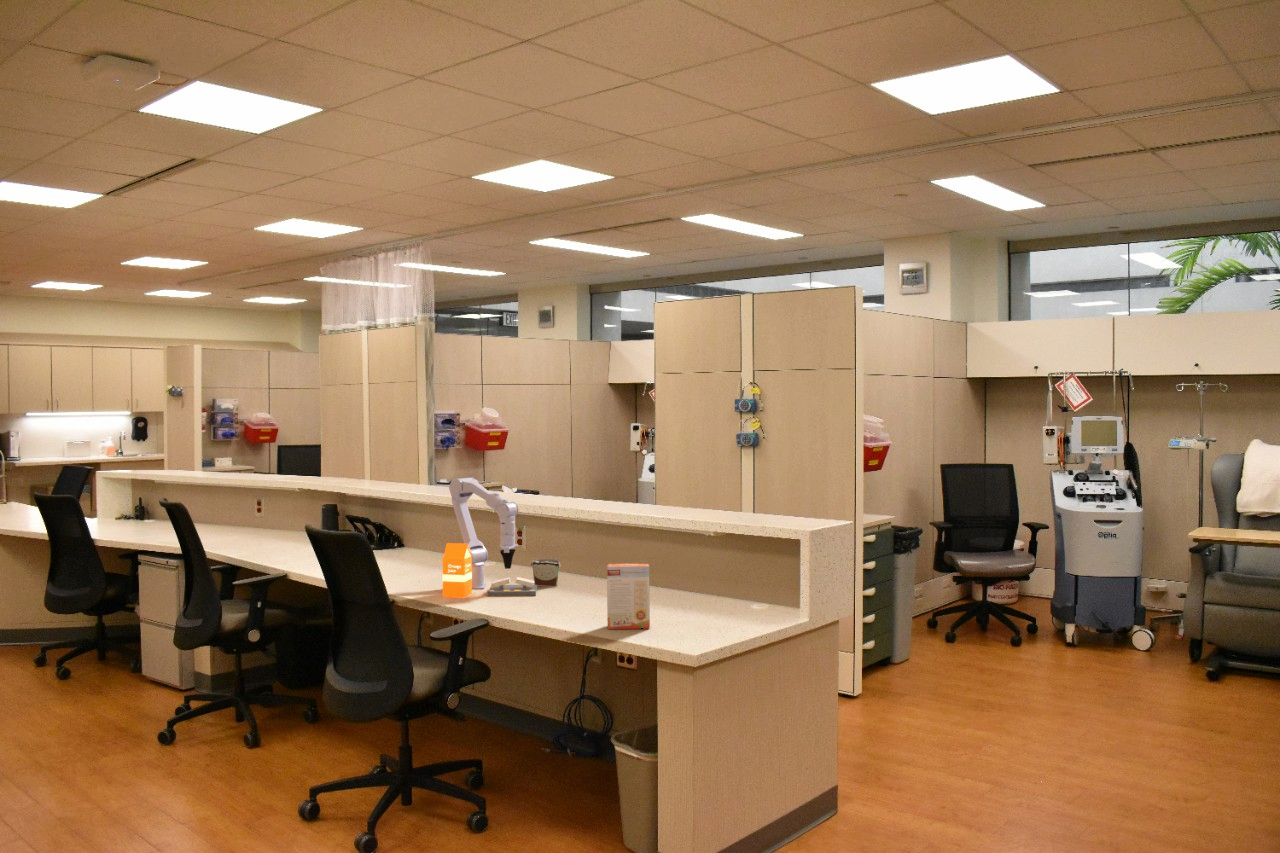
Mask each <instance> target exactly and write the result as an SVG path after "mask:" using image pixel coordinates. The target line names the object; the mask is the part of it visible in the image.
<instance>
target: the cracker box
mask: <svg viewBox="0 0 1280 853" xmlns="http://www.w3.org/2000/svg"><path fill="white" fill-rule="evenodd" d="M606 567H607V568H606V569H607V571H606V575H607V576H606V579H607V580H606V590H607V591H606V595H607V596H606V598H607V599H606V600H607V602H606V604H607V606H606V608H607V614H606V615H607V616H606V617H607V620H606V621H607V629H608V630H631V629H633V630H646V629H647V630H648V629H650V627H651V626H650V625H651V624H650V623H651V622H650V621H651V620H650V619H651V616H650V615H651V614H650V613H651V610H650V608H651V607H650V604H651V602H650V601H651V600H650V588H651V587H650V564H649V563H608V564H607V565H606ZM641 628H643V629H641Z"/></svg>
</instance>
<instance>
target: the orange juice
mask: <svg viewBox="0 0 1280 853" xmlns="http://www.w3.org/2000/svg"><path fill="white" fill-rule="evenodd" d="M472 590H473V589H472V558H471V553H470V550H469V546H468V544H464V543H452V542H446V545H445V549H444V552H443V558H442V597H443V598H464V599H465V598H466V597H468V596H470V595H472V593H473V591H472Z"/></svg>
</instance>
